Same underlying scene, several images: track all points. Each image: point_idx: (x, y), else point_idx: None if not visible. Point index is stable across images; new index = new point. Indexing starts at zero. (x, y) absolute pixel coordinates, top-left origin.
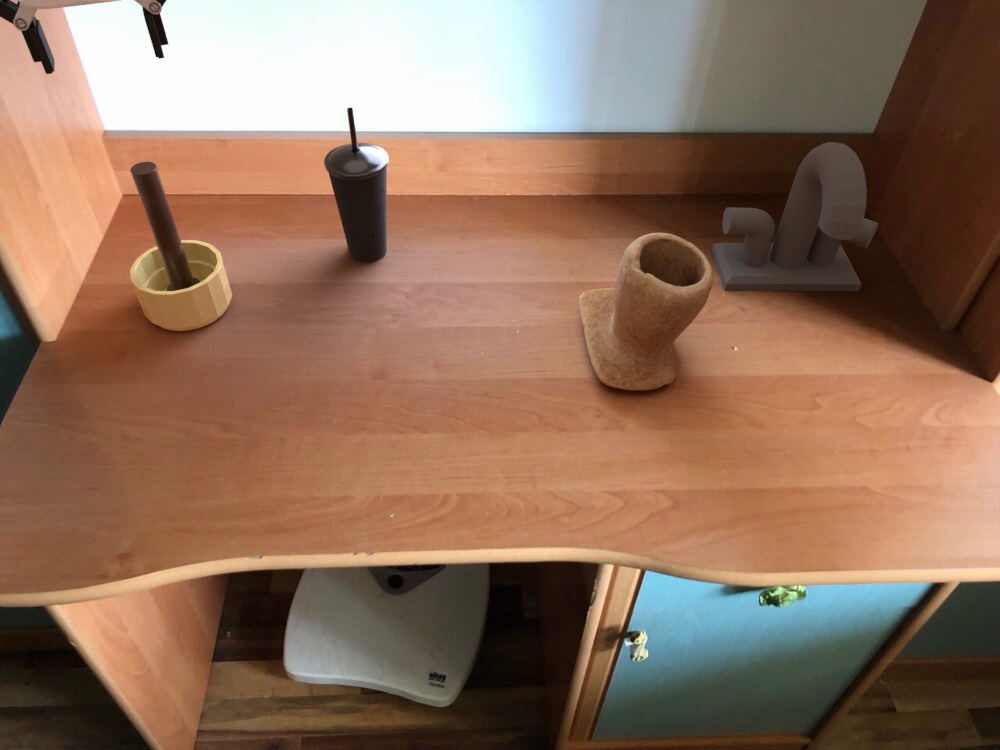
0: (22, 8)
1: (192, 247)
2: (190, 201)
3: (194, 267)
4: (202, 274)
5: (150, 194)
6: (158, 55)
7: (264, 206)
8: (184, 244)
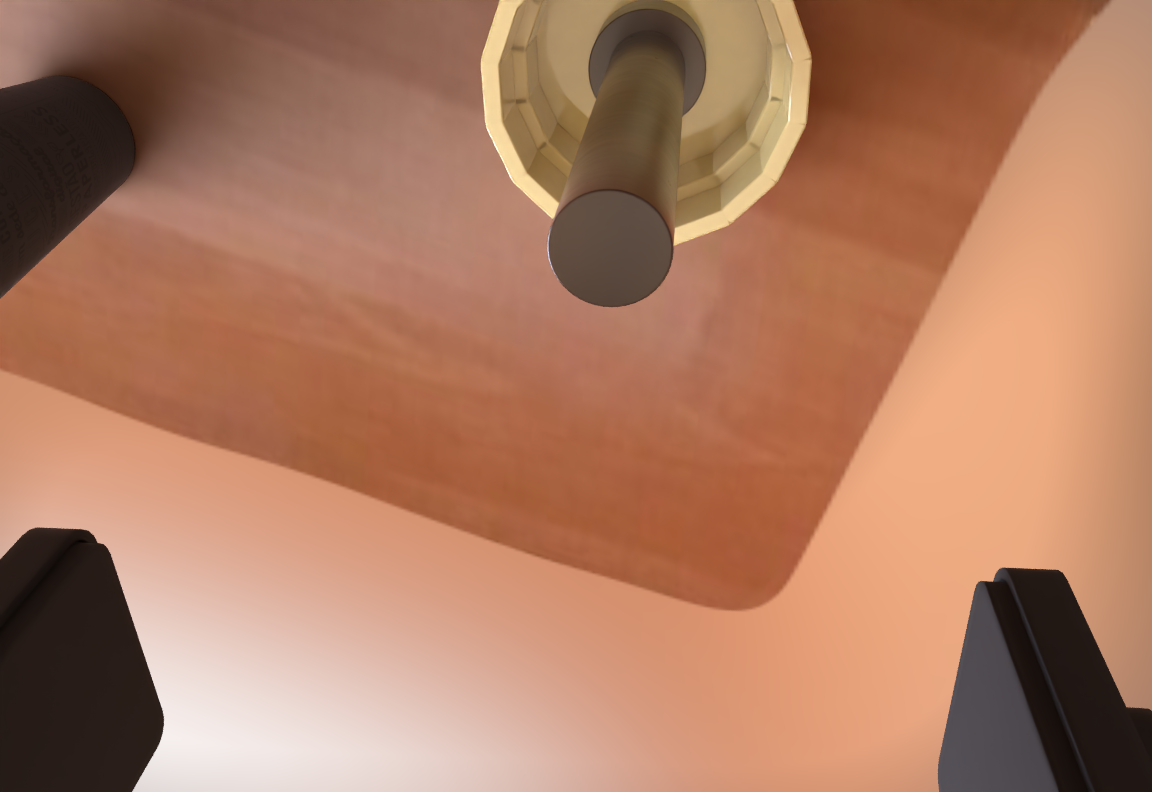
0: None
1: None
2: (594, 549)
3: None
4: None
5: (620, 153)
6: (59, 538)
7: (388, 459)
8: None
